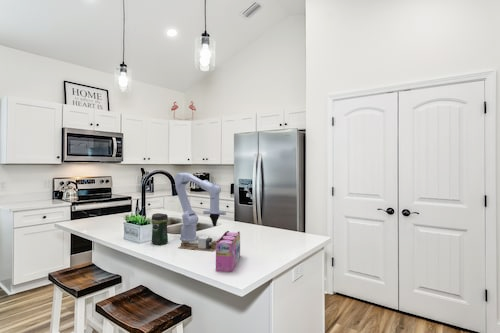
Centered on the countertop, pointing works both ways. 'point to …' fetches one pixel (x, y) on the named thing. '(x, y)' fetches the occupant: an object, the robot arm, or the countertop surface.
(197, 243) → the pipe
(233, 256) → the gum box
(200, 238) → the sleeve
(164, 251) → the countertop surface
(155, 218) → the coffee jar
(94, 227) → the countertop surface
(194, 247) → the pipe stand
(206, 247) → the nut
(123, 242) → the countertop surface
